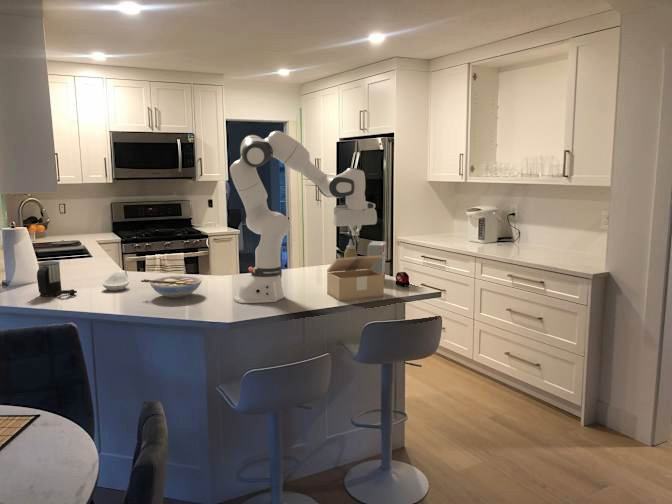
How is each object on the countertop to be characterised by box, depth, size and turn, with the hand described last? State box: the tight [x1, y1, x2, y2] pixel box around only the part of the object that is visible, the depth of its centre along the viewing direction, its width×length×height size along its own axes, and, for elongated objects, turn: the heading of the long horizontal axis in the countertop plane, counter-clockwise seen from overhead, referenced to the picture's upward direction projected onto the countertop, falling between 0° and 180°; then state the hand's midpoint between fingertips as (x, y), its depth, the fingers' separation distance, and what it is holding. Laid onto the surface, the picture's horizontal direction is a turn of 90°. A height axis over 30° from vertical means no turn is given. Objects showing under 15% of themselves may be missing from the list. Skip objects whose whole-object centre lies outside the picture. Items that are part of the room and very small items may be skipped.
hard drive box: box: [366, 240, 387, 280], centre depth 279 cm, size 16×8×20 cm, turn 168°
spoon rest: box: [102, 270, 130, 292], centre depth 266 cm, size 24×12×7 cm, turn 11°
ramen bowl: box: [140, 274, 203, 299], centre depth 248 cm, size 25×23×8 cm
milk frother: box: [36, 260, 78, 297], centre depth 248 cm, size 14×16×15 cm
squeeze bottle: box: [343, 238, 358, 271], centre depth 304 cm, size 8×8×18 cm
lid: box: [326, 255, 382, 273], centre depth 251 cm, size 22×14×1 cm
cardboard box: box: [326, 269, 385, 302], centre depth 251 cm, size 22×14×10 cm, turn 112°
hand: (355, 235), depth 248 cm, fingers closed
